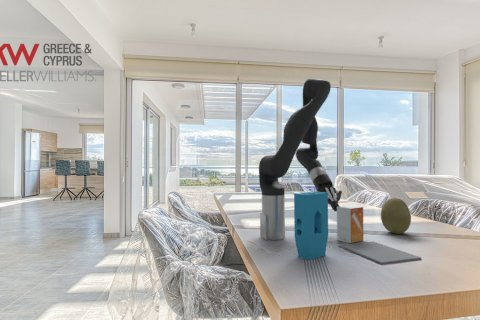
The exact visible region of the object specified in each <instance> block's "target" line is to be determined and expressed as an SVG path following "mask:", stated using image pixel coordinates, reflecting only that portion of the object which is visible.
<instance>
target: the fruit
mask: <svg viewBox="0 0 480 320" xmlns="http://www.w3.org/2000/svg"><path fill="white" fill-rule="evenodd" d="M380 219H381V223H382V226H383V227H384V228H385V229H386V230H387V232H389V233H392V234H398V235H400V234H404V233H405V232H407V231H408V230H409V228H410V226H411V222H412V215H411V211H410V208H409V206H408V204H407V203H406V202H405V200H403V199H401V198H398V197H397V198H396V197H394V198H393V197H392V198H389V199H387V200H386V201H385V202H384V204H383V205H382V207H381V210H380Z"/></svg>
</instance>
